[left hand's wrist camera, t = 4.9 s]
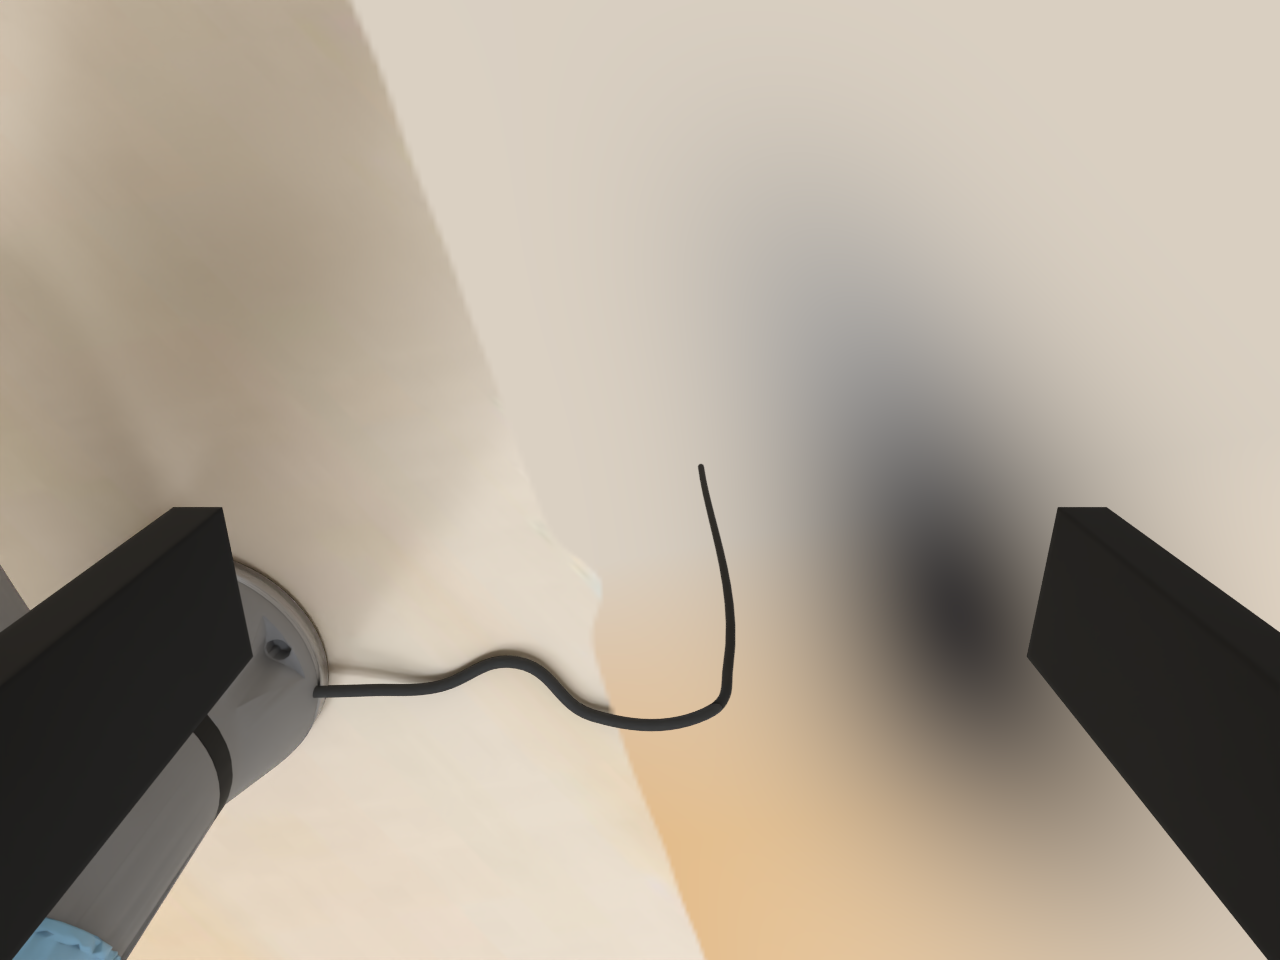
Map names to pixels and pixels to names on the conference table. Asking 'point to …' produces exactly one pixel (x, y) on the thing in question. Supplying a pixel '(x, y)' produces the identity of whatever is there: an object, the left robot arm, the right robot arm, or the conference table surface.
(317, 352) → the conference table surface
